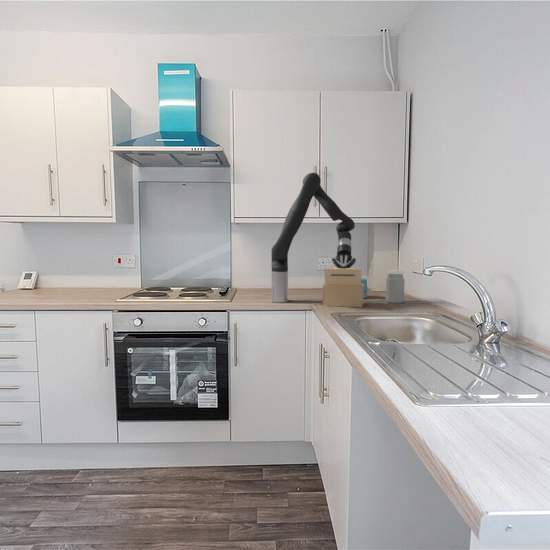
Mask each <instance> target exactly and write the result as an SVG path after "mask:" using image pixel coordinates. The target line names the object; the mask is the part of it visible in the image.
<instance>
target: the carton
mask: <svg viewBox="0 0 550 550" xmlns="http://www.w3.org/2000/svg"><path fill="white" fill-rule="evenodd" d="M362 295H363V298H362ZM364 299H365V298H364V284H363V283H361V285H325V282H324V283H323V285H322V304H323V306H324V305H328V306H327V307H339V306H345V308H363V306H364V301H365V300H364Z"/></svg>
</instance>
